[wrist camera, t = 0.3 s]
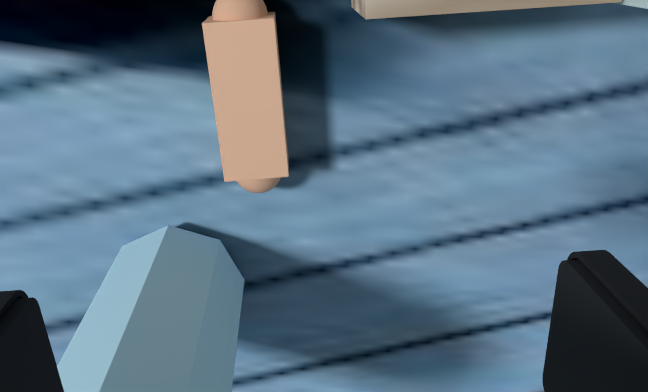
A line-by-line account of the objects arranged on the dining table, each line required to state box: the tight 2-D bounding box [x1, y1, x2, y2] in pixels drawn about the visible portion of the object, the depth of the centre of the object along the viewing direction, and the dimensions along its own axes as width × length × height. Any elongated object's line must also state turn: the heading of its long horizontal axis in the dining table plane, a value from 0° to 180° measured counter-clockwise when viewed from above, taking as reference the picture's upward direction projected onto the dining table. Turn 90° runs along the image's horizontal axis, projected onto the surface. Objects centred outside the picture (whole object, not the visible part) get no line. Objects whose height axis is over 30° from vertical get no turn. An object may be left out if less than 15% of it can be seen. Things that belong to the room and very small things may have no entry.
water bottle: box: [57, 225, 244, 392], centre depth 32 cm, size 10×10×25 cm
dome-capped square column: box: [202, 0, 289, 193], centre depth 37 cm, size 13×4×4 cm, turn 3°
